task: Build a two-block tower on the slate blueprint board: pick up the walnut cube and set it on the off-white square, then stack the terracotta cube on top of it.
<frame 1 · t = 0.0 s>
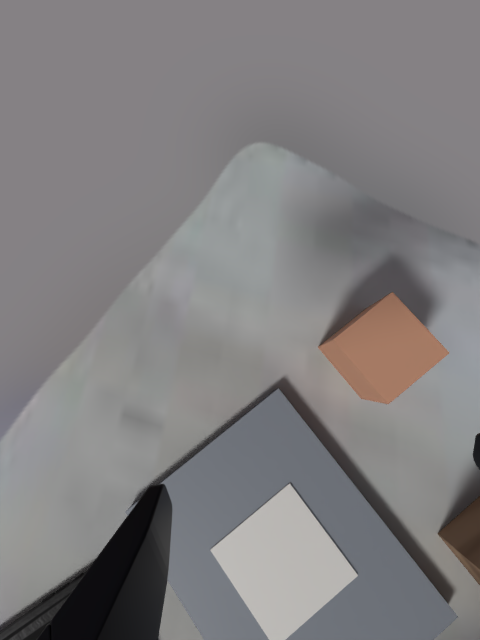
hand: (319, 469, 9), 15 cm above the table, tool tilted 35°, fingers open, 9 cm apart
terracotta cube: (363, 352, 24), on the table
blueprint board: (281, 553, 22), on the table
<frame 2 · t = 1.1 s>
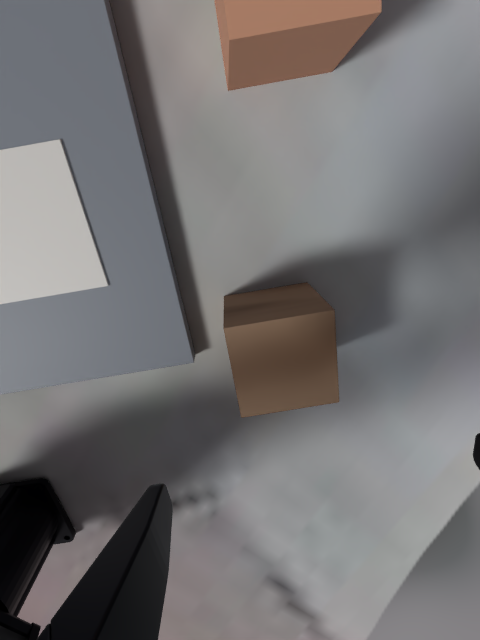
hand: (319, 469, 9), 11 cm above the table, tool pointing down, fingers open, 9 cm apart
walnut cube: (270, 326, 19), on the table
terracotta cube: (273, 14, 14), on the table
blueprint board: (30, 228, 16), on the table
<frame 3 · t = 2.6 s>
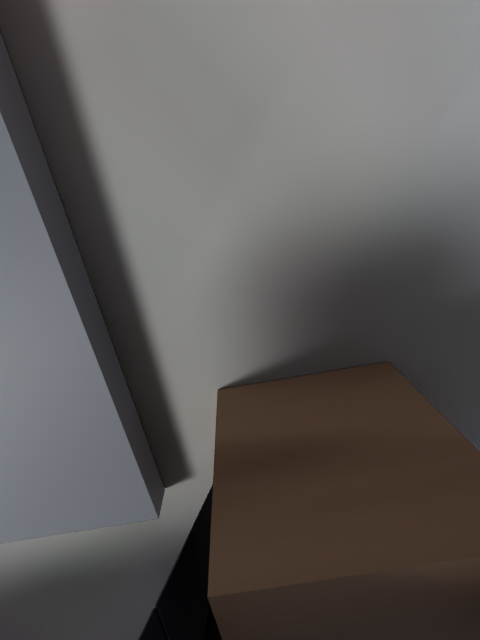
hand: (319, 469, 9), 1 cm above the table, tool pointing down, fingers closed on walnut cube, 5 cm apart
walnut cube: (309, 442, 10), on the table, touching gripper
when the fingers open (3 cm above the table, at t = 6.8 s): walnut cube drops 1 cm, resting on blueprint board.
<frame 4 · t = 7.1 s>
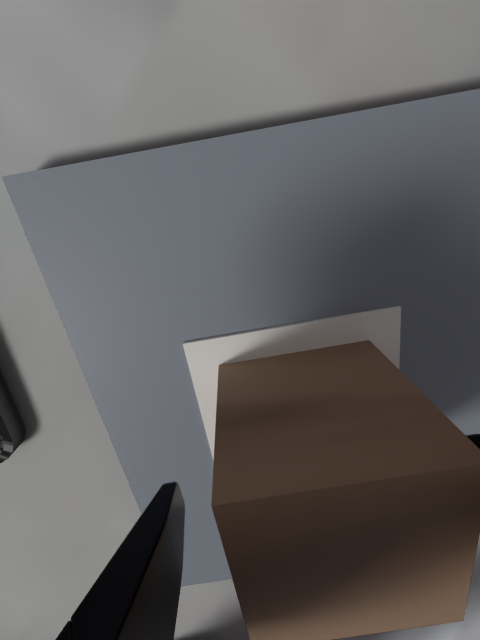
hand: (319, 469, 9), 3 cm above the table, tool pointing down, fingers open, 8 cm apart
walnut cube: (300, 413, 11), point 1 cm above the table, touching blueprint board
blueprint board: (294, 395, 12), on the table
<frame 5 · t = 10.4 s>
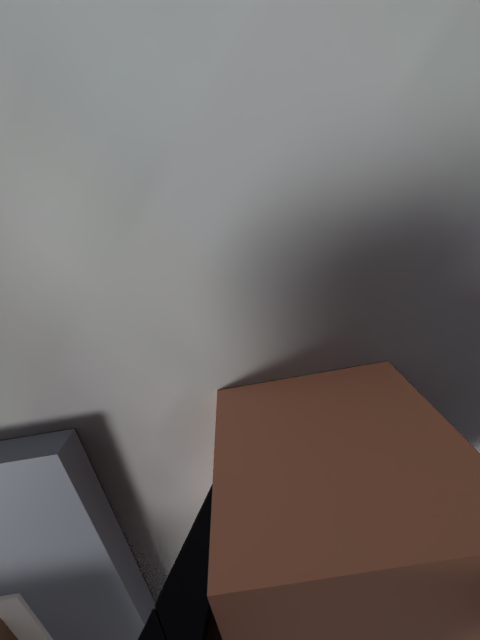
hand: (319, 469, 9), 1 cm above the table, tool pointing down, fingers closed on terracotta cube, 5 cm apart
terracotta cube: (309, 442, 10), on the table, touching gripper
when the fingers open (8 cm above the table, at t = 14.1 s): terracotta cube stays where it is, resting on walnut cube.
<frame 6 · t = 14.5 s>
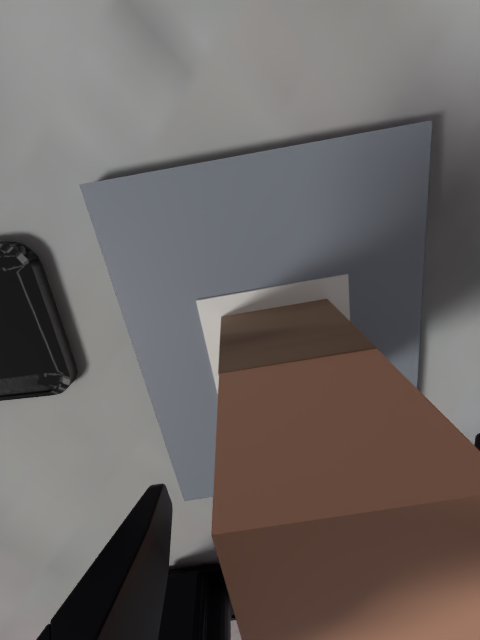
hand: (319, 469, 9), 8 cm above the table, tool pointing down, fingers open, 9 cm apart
walnut cube: (280, 354, 15), point 1 cm above the table, touching blueprint board, terracotta cube
terracotta cube: (303, 424, 11), point 6 cm above the table, touching walnut cube
blueprint board: (277, 345, 16), on the table
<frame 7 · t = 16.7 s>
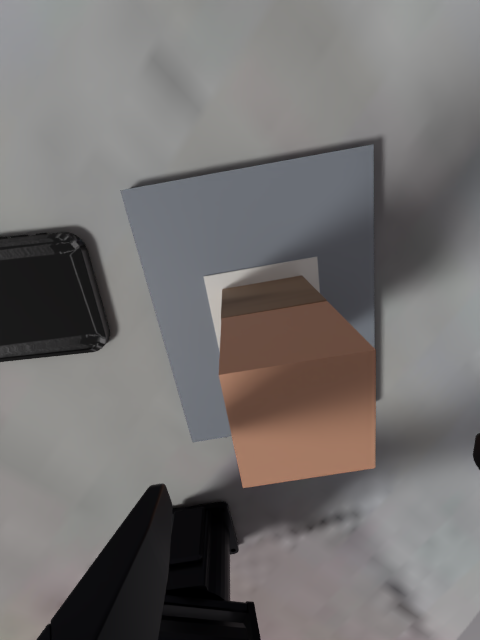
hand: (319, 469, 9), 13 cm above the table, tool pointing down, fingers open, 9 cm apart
walnut cube: (267, 319, 20), point 1 cm above the table, touching blueprint board, terracotta cube
terracotta cube: (279, 356, 15), point 6 cm above the table, touching walnut cube
blueprint board: (265, 313, 21), on the table
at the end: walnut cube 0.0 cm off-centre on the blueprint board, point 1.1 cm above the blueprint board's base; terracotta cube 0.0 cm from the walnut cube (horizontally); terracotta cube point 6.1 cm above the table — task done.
